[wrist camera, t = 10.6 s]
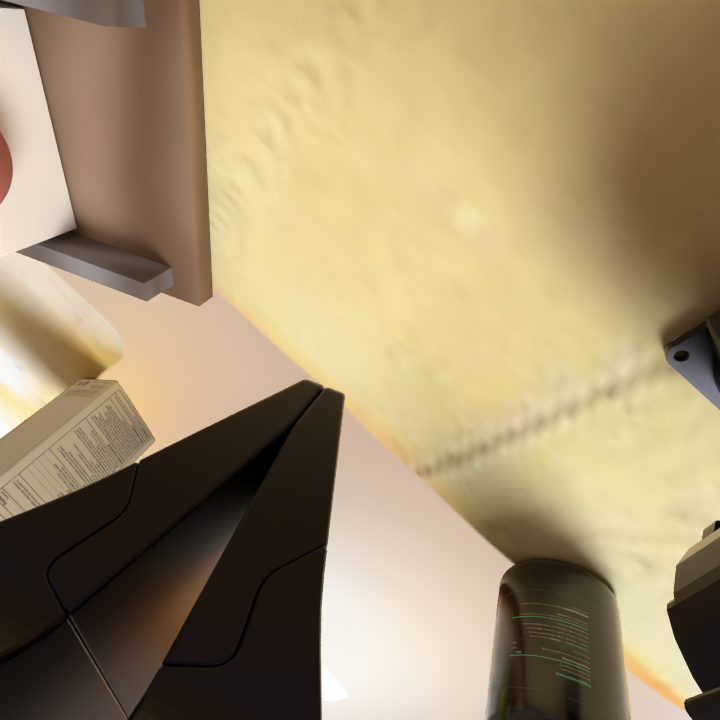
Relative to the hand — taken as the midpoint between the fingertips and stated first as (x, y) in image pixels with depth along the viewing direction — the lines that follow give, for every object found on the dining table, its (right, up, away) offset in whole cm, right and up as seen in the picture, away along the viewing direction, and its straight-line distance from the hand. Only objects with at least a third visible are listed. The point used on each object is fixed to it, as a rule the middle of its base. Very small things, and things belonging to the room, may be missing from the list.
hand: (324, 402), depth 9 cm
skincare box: (-18, -3, +26) cm, 32 cm away
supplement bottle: (+13, -14, +20) cm, 28 cm away
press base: (-14, +12, +13) cm, 23 cm away
